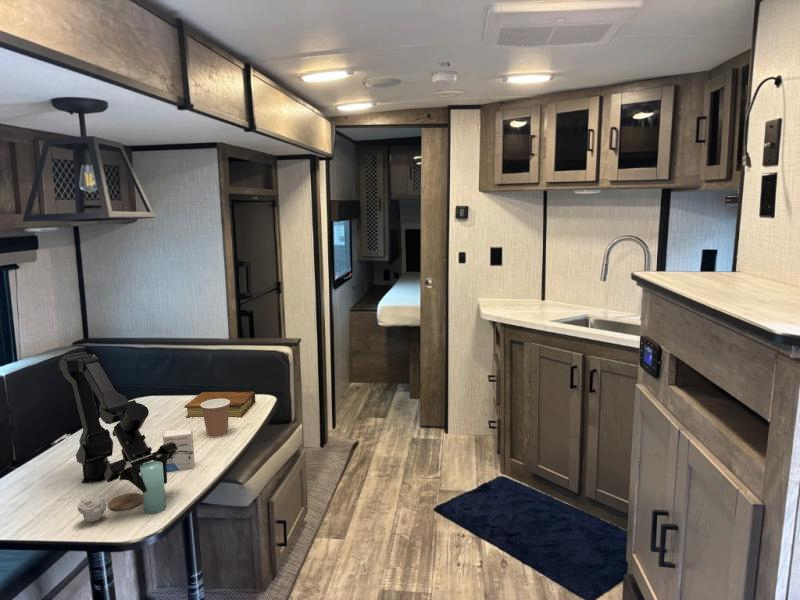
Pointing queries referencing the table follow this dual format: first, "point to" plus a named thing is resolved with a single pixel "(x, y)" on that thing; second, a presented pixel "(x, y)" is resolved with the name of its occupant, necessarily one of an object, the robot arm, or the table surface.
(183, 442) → the ink box
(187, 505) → the table surface
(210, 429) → the coffee cup
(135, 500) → the coaster
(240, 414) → the diary
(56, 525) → the table surface
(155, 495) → the teal round cylinder
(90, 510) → the white sculpted piece
